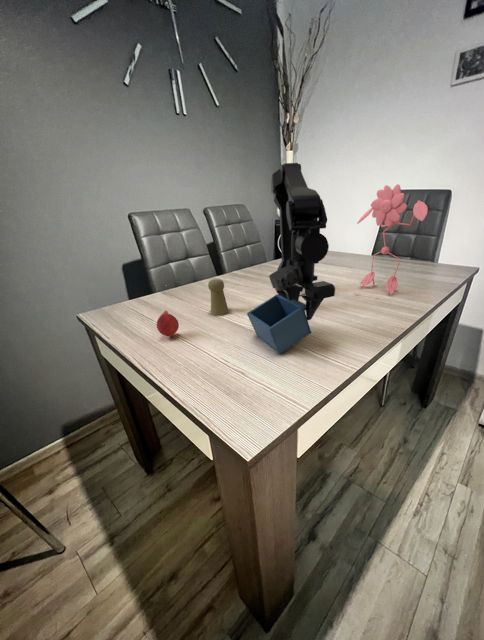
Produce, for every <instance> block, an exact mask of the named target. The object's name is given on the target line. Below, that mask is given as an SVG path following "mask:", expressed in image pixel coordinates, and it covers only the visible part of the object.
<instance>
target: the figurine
mask: <svg viewBox="0 0 484 640" xmlns="http://www.w3.org/2000/svg"><path fill="white" fill-rule="evenodd" d="M376 197H377V198H376V199H373V201H372V202H371V204H370V208H369V209H368V210H367V211H366V212H364V214H363V215H362V216H361V217H360V218H359V220H358V221H357V222H356V224H357V225H358V224H360V223H361V222H363V221H364V220H365V219H366V218H367V217H369V216H370V214H371V217H372V218H375V224H376V225H377V226H380V227H381V228H384V227H387V228H385V229H384V230H383V231H382V237H383V238H382V239H383V244H384V246H383V247H382V248H381V250H380V251H378V252H376V253H375V254H372V261H371V270H370V272H369V273H367V274H366V275H365V276H364V277H363V279H362V281H361V282H360V283H361V284H360V287H361V288H363V287H365V286H367V285H369V284H370V283H371V282H372V286H373V287H375V286H376V284H375V279H374V278H375V275H376V273H375V272H374V271H373V270H374V269H373V268H374V258H375V256H376V255H379V254H382V255H387V254H388V255H390V256H392V257H394V258H396V259H397V260H398V263H397V265H396V268H395V271H394V273H393V276H390V277H389V278H388V279H387V281H386V290H387V291H388V293H389V294H390V295H392V294H393V293H395V292H396V290H397V289H398V286H399V280H398V278H397V277H396V274H397V271H398V269H399V266H400V262H401V258H399V256H396V255H394V254H393V253H391V252H390V247H389V246H387V245H386V235H385V232H386V231H388V230H390V228H391V227H393V226H394V225H401V226H405V227H407V226H408V227H411V226H412V224H413V221H414V219H415V218H416V220H419V221H420V222H424V220H425V219H426V216H427V215H428V205H427V204H426V203H425V202H424V201H421V200H417V202H416V203H414V206H413V209H412V214H413V215H412V217H411V219H410V222H409V223H406V222H405V223H404V222H399V221H400V219H401V215H400V214H402V213H404V212H405V211H406V210H407V208H408V205H407V204H406V203H404V202H403V201H404V200H405V193H404V192H402V189H401V185H400V184H399V183H398V184H396V185H395V186H394V187H393V188H391V186H389V185H387V184H386V185H385V186H384V187H383V189H379V190H377V191H376ZM383 223H384V224H383ZM354 295H358V296H360V297H362V298H363V297H364V298H367V296H365V295H362V294H360V293H359V294H358V293H355V292H354ZM369 298H370V299H372V297H371V296H368V299H369ZM374 299H375V300H380V298H377V297H374Z"/></svg>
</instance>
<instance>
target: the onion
mask: <svg viewBox="0 0 484 640" xmlns="http://www.w3.org/2000/svg"><path fill="white" fill-rule="evenodd" d="M179 324H180V323H179V320H178V319H177V318H176V317H175V316H174V315H173V314H171V313H169V311H168V310H163V312H162V313H161V314H160V315H159V317H158V318H157V321H156V328H157V331H158V332H159V333H160V334H161V335H162V336H165V337H169V338H172V337H173V336H174V335H175V334H176V333H177V332H178V330H179V328H180V325H179Z"/></svg>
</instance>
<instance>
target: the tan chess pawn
mask: <svg viewBox="0 0 484 640" xmlns="http://www.w3.org/2000/svg"><path fill="white" fill-rule="evenodd" d="M207 283H208V284H207V286H208V287H207V288H208V289H209V292H210V313H211V315H213V316H222V315H226V314H228V313H229V308H228V303H227V299H226V295H225V292H224V291H225V290H224V288H225V282H224V281H223V280H222V279H217V278H215V279H211V280H209V281H208V282H207Z"/></svg>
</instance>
